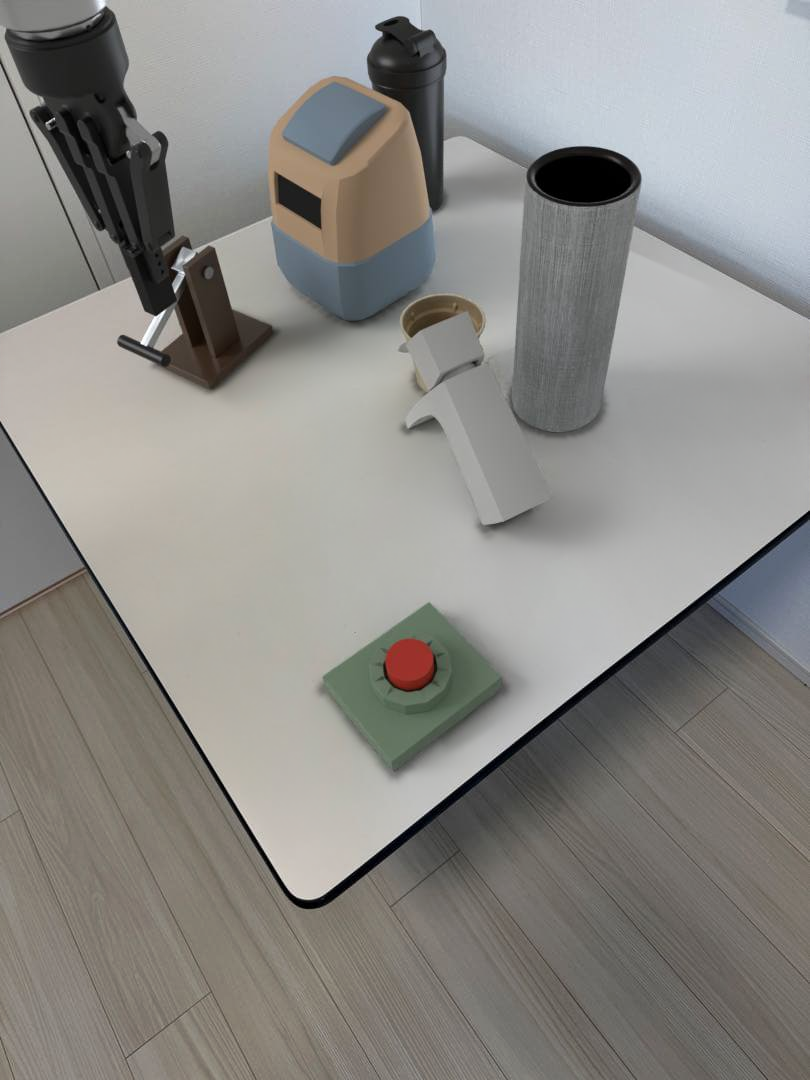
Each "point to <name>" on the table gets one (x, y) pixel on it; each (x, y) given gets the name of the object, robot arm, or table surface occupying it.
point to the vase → (571, 282)
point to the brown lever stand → (208, 321)
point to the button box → (412, 715)
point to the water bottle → (414, 89)
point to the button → (409, 664)
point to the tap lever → (159, 318)
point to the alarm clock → (349, 199)
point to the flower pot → (438, 316)
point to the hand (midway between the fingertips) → (160, 305)
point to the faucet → (475, 420)
